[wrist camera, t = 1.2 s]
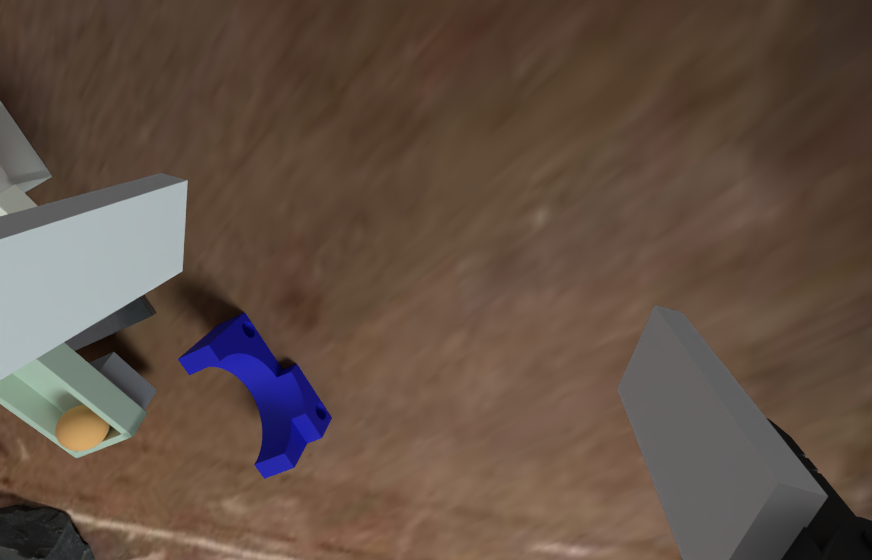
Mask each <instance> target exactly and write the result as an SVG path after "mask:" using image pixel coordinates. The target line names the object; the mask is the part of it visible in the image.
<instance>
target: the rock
mask: <svg viewBox="0 0 872 560" xmlns="http://www.w3.org/2000/svg"><path fill="white" fill-rule="evenodd" d="M0 560H95V558H94V556H93V553H92V551H91V548H90V547H89V546H88V545H87V544H86V543H83V542H82V541H81V538H80V537H79V535H78V534H77V533H76V532H75V531H74V528H73V526H72V523H71V521H70V520H69V518H68V517H67V516H66V515H65V514H64V513H62V512H58V511H56V510H54V509H51V508H47V507H39V508H36V509H35V508H31V507H29V506H25V505H14V506H9V507H5V508H1V509H0Z"/></svg>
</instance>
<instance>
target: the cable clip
mask: <svg viewBox="0 0 872 560" xmlns="http://www.w3.org/2000/svg"><path fill="white" fill-rule="evenodd" d="M178 360H179V361H180V363H181V364H182V366H183V367H184V368H185V370H186V371H187V373H188V374H189V375H191V374H193V373H195V372H198V371H200V370H202V369H204V368H207V367H219V368H222V369H225V370H227V371H229V372H231V373H233V374H234V375H235V376H237V377H238V378H239V379H240V380H241V381H242V382H243V383H244V384H245V385H246V387H247V388H248V389H249V391H250V392H251V394H252V396H253V398H254V400H255V402H256V404H257V407H258V410H259V413H260V417H261V422H262V434H263V435H262V446H261V450H260V453H259V456H258V459H257V461H256V463H255V464H254V465H255V466H256V468H257V469H258V470H259V472H260V473H261V475H262V476H263V477H264V479H265V478H267V477H270V476H273V475H276V474H278V473H281V472H284V471H287V470H289V469H292V468H294V467H295V465H296V464H297V462H298V460H299V458H300V456H301V454H302V452H303V451H304V449H305V447H306V445H307V443H310V442H312V441H315V440H318V439H320V438H322V437H323V435H324V433H325V431H326V429H327V427H328V425H329V423H330V421H331V419H332V417H331V416H330V414H329V413H328V411H327V409H326V408H325V406H324V405H323V403H322V402H321V400H320V399H319V397H318V396H317V394H316V393H315V391H314V389H313V388H312V386H311V385H310V383H309V382H308V380H307V379H306V377H305V376H304V374H303V373H302V371H301V370H300V368H299V366H298V365H297V364H295V365H293V366H290V367H288V368H286V369H284V370H283V369H282V368H281V366H280V365H279V363H278V362H277V360H276V359H275V357H274V356H273V354H272V353H271V351H270V350H269V348H268V347H267V345H266V344H265V342H264V341H263V339H262V338H261V336H260V335H259V333H258V332H257V330H256V329H255V327H254V326H253V324H252V323H251V321H250V320H249V318H248V317H247V315H246V314H245V313H243V314H241V315H239V316H236V317H234V318H232V319H230V320H228V321H226V322H224V323H222V324H220V325H217V326H216V327H215V328H214V329H213V330H212V331H210V332H209V333H208V334H207V335H206V336H204V337H203V338H202V339H201V340H200V341H199V342H197V343H196V344H195V345H194V346H193V347H192V348H190V349H189V350H188V351H187V352H186V353H185V354H183V355H182V356H181V357H180V358H179V359H178Z"/></svg>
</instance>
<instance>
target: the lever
mask: <svg viewBox="0 0 872 560" xmlns="http://www.w3.org/2000/svg"><path fill="white" fill-rule="evenodd" d="M33 207H37V205H36V204H35V203H34V202H33V201H32V200H31V199H30V198H29V197H28V196H27V195H26V194H25V193H24V192H23V191H22V190H21V189H20V188H19V187H18V186H17V185H16V184H14V185H13V186H11V187H9V188H8V189H6V190H4V191H2V192H0V216H3V215H7V214H11V213H14V212H18V211H22V210H26V209H29V208H33ZM156 391H157V390H156V389H155V388H154V387H153V386H152V385H151V384H149V383H148V382H147V381H146V380H145V379H144V378H143V377H142V376H140V375H139V374H138V373H137V372H136V371H135V370H134V369H133V368H131V367H130V366H129V365H128V364H127V363H126V362H125V361H124V360H122V359H121V358H120V357H119V356H118V355H117V354H116V353H115V352H112V353H110V354H108V355H105V356H103V357H101V358H99V359H96V360H94V361H92V362H90V363H88V362H87V361H85V360H84V359H83V358H82V357H81V356H80V355H78V354H77V353H76V352H75V351H74V350H73V349H71V348H70V347H69V346H68V345H67V344H65V343H64V342H63V343H62V344H60V345H58V346H57V347H55V348H53V349H52V350H50V351H48V352H47V353H45V354H43V355H42V356H40V357H38V358H37V359H35V360H33V361H32V362H30V363H28V364H27V365H25V366H23V367H22V368H20V369H18V370H16V371H15V372H13V373H11V374H10V375H8V376H6V377H5V378H3V379H1V380H0V404H1V405H3V406H4V407H5V408H7V409H8V410H10V411H11V412H12V413H14V414H15V415H17V416H18V417H19V418H21V419H22V420H24V421H25V422H26V423H28V424H29V425H31V426H32V427H33V428H35V429H36V430H38V431H39V432H40V433H42V434H43V435H45V436H46V437H47V438H49V439H50V440H52V441H53V442H54V443H56V444H57V445H59V446H60V447H61V448H63V449H64V450H65V451H67V452H68V453H70V454H71V455H72V456H74V457H75V458H78V457H81V456H84V455H86V454H89V453H91V452H94V451H97V450H99V449H102V448H105V447H107V446H110V445H112V444H115V443H118V442H120V441H123V440H125V439H128V438H131V437H133V436H134V435H135V433H136V431H137V429H138V428H139V426H140V424H141V423H142V421H143V419H144V418H145V416H146V414H147V412H146V411H145V409H146V407H147V406H148V404H149V402H150V401H151V399H152V397H153V396H154V394H155V392H156ZM80 405H86V406H87V407H88V408H89V409H91V410H92V411H93V412H95V413H96V414H97V415H98V416H100V417H101V418H102V419H103V420H105V421H106V422H107V423H108V424H109V430H108V433H107V435H106V437H105V438H104V440H103V441H102V442H101V443H99V444H98V445H97V446H95V447H93V448H91V449H88V450H84V451H73V450H69V449H67V448H65V447H63V446H62V445H61V444H60V443H59V442H58V440H57V437H56V425H57V423H58V421H59V419H60V418H61V416H62V415H63V414H64V413H65V412H67V411H68V410H70V409H72V408H74V407H76V406H80Z"/></svg>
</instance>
